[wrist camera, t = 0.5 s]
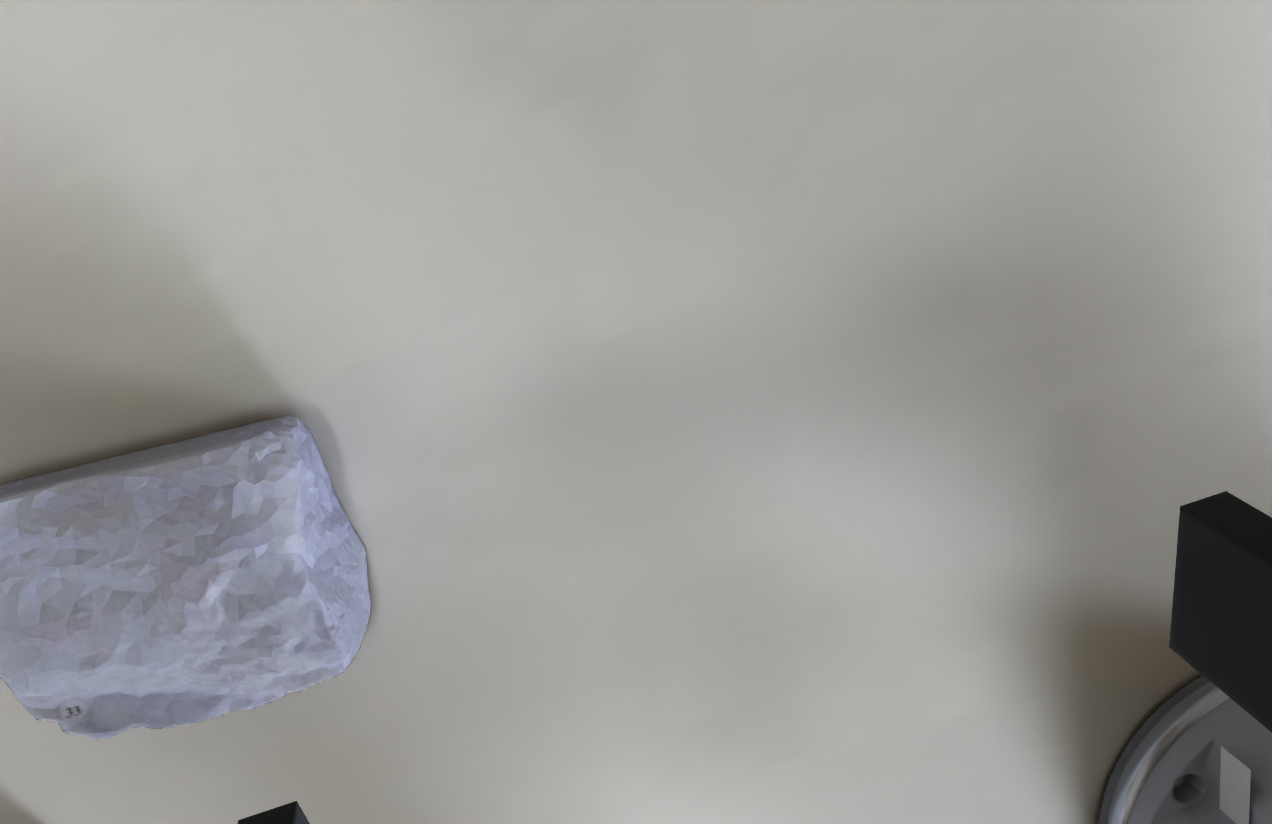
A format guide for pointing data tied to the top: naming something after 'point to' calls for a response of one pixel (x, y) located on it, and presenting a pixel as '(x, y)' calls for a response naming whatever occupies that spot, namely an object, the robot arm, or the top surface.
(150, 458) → the stone block
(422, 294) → the top surface
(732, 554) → the top surface
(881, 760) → the top surface
